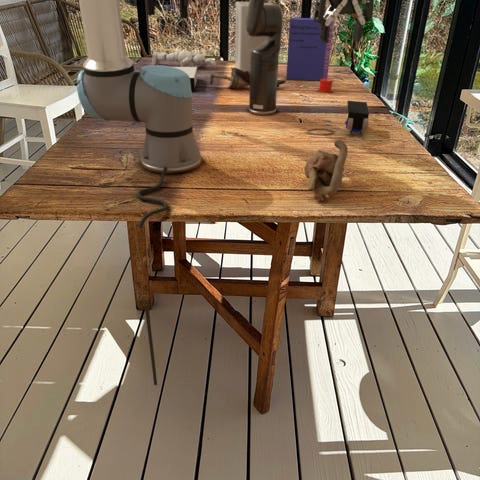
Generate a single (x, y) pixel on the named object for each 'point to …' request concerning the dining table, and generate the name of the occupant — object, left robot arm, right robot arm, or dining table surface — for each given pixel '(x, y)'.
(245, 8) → the tall white carton
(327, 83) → the tin
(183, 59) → the toy
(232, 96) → the dining table surface
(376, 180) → the dining table surface
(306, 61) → the cereal box
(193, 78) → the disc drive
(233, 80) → the figurine
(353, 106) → the figurine character
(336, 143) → the brown monkey figure
